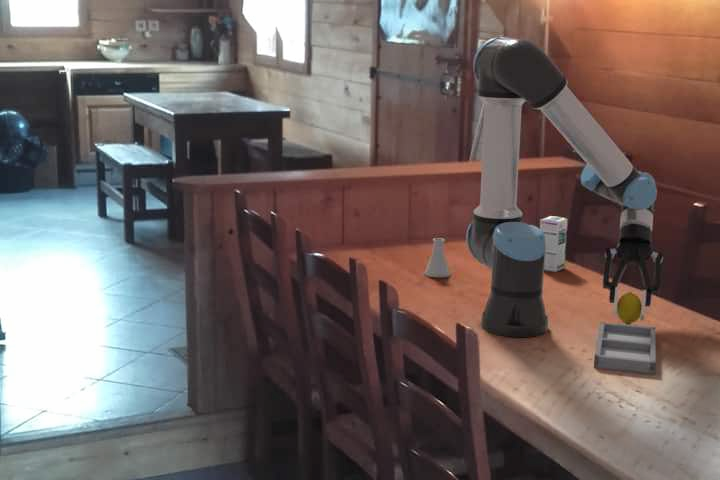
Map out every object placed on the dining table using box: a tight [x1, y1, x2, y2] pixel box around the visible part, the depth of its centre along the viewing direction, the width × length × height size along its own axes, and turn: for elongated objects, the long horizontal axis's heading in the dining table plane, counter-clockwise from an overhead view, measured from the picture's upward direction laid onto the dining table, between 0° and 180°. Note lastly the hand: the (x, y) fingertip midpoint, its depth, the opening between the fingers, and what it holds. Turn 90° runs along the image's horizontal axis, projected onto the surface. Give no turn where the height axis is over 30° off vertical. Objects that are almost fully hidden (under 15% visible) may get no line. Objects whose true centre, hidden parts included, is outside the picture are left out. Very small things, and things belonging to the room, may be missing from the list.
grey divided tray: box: [593, 321, 657, 375], centre depth 209 cm, size 23×12×2 cm, turn 164°
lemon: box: [616, 291, 642, 325], centre depth 226 cm, size 6×6×8 cm
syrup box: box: [539, 215, 568, 273], centre depth 272 cm, size 6×6×14 cm
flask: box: [424, 237, 451, 278], centre depth 265 cm, size 7×7×10 cm
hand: (628, 316), depth 223 cm, fingers closed on lemon, 5 cm apart
